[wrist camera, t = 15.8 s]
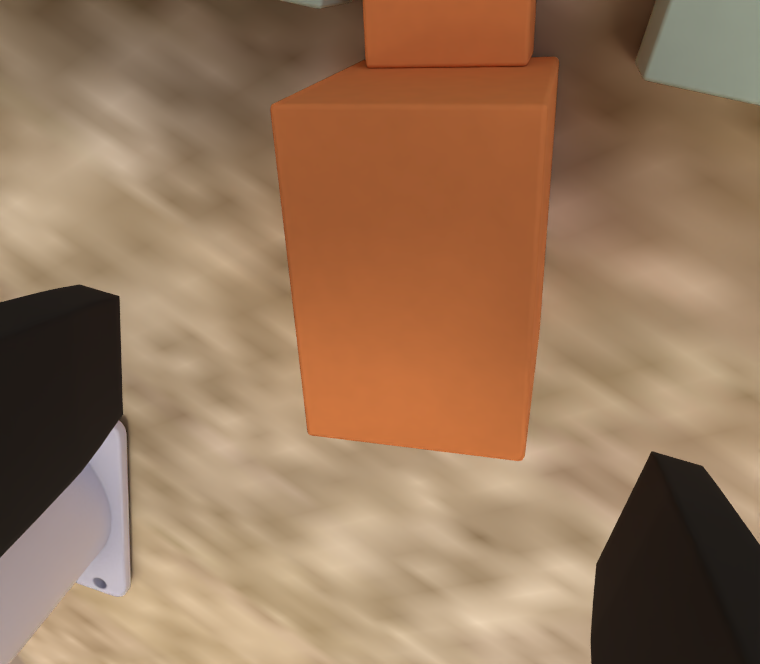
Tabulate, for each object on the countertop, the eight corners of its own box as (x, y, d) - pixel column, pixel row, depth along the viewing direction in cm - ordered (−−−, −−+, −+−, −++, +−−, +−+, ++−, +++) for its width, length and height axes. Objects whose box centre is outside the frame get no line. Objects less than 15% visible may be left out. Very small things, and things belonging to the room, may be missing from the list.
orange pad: (375, 317, 17) (306, 436, 13) (350, -145, 13) (232, -194, 8) (540, 329, 16) (524, 463, 12) (575, -165, 12) (571, -233, 7)
